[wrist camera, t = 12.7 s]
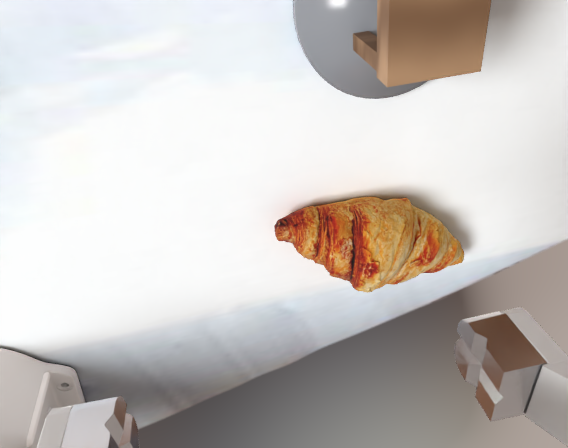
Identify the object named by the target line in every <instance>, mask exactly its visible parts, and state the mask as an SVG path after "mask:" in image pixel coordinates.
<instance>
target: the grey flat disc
mask: <svg viewBox="0 0 568 448" xmlns="http://www.w3.org/2000/svg"><path fill="white" fill-rule="evenodd" d="M293 15H294V22H295V29H296V32H297V36H298V39H299V42H300V45H301V47H302V49H303V52H304V54H305V55H306V57H307V59H308V60H309V62H310V63H311V65H312V66H313V67H314V69H315V70H316V71H317V72H318V74H319V75H320V76H321V77H322V78H323V79H324V80H326V81H327V82H328V83H329V84H331V85H332V86H333V87H335V88H336V89H338V90H340V91H342V92H344V93H347V94H350V95H353V96H356V97H362V98H372V99H379V98H388V97H393V96H397V95H400V94H403V93H406V92H408V91H411V90H413V89H415V88H417V87H419V86H421V85H422V84H424V83H425V82H427V81H428V80H427V81H421V82H415V83H410V84H404V85H398V86H392V87H386V86H385V85H384V84H383V83H382V82H381V81H380V80H379V79H378V78H377V71H376V70H375V69H374V68H373V67H371V66H370V65H369V64H368V63H367V62H366V61H365V60H364V59H362V58H361V57H360V56H359V55H358V54H357V53H356V52H355V51H353V33H359V32H365V31H369V32H371V33H372V34H374V35H375V36H377V0H293Z"/></svg>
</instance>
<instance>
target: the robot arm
mask: <svg viewBox="0 0 568 448" xmlns="http://www.w3.org/2000/svg"><path fill="white" fill-rule="evenodd" d="M457 331H458V333H459V334H460V336H461V337H460V339H459V340H458V341H457V342H456V343H455V349H454V354H455V360H456V364H457V366H458V369H459V371H460V373H461V375H462V376H463V378H464V380H465V381H466V382H468V383H470V384H472V385H473V386H475V387H476V395H475V397H476V399H477V400H478V402H479V404H480V405H481V407H482V409H483V410H484V412H485V413H486V415H487V416H488V418H489V420H490V421H495V420H500V419H505V418H510V417H514V416H519V415H524V414H526V415H525V417H527V418H528V419H530V420H531V421H532V422H534V423H535V424H537V425H538V426H539V427H541V428H542V429H544V430H545V431H546V432H548V433H549V434H551V435H552V436H554V437H555V438H556V439H558V440H559V441H560V442H562V443H563V444H565V445H566V446H568V355H567V354H565V352H564V351H563V350H562V349H561V348H560V347H559V346H558V345H557V344H556V342H555V341H554V340H553V339H552V338H551V337H550V336H549V335H548V334H547V332H546V331H545V330H544V329H543V328H542V327H541V326H540V325H539V324H538V323H537V321H536V320H535V319H534V318H533V317H532V316H531V315H530V314H529V313H528V312H527V311H526V310H525V309H523V308H522V307H518V308H513V309H509V310H504V311H500V312H493V313H489V314H485V315H481V316H476V317H472V318H468V319H464V320H461V321H460V322H459V324H458V330H457ZM126 406H127V404H126V402H125V400H124V399H123V397H122V396H118V397H113V398H108V399H103V400H97V401H92V402H87V403H85V399H84V396H83V393H82V389H81V386H80V383H79V379H78V376H77V373H76V371H75V370H74V369H73V368H71V367H68V366H64V365H58V364H51V363H45V362H42V361H39V360H37V359H34V358H32V357H30V356H27V355H24V354H22V353H19V352H15V351H11V350H7V349H1V348H0V448H139V435H138V428H137V424H136V421H135V419H134V417H133V416H132V415H130V414H128V413H126Z"/></svg>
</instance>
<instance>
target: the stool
mask: <svg viewBox="0 0 568 448" xmlns="http://www.w3.org/2000/svg"><path fill="white" fill-rule="evenodd" d="M490 6H491V0H377V36H375V35H374V34H372V33H371V32H369V31H365V32H359V33H353V51H355V52H356V53H357V54H358V55H359V56H360V57H361V58H362V59H364V60H365V61H366V62H367V63H368V64H369V65H370V66H371V67H373V68H374V69H375V70H376V71H377V78H378V79H379V80H380V81H381V82H382V83H383V84H384V85H385V86H386V87H392V86H398V85H404V84H410V83H415V82H421V81H427V80H433V79H439V78H445V77H450V76H456V75H462V74H468V73H474V72H480V71H481V66H482V59H483V53H484V46H485V39H486V32H487V26H488V19H489V12H490Z"/></svg>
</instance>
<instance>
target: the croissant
mask: <svg viewBox="0 0 568 448" xmlns="http://www.w3.org/2000/svg"><path fill="white" fill-rule="evenodd" d="M275 235H276V237H277V239H278V241H286V242H290V243H293V245H294V247H295V248H296V250H297V252H298V253H300V254H301V255H302V256H303V257H304V258H305V257H306V258H307V259H311V260H314V262H315V263H318V264H321V265H324V267H325V268H326V270H327V271H328V272H330V275H331V276H333V277H337V278H341V279H343V280H347V281H350V283H351V284H352V286H353V288H354V289H356V290H358V291H364V292H372V291H373V290H374V289H378V288H380V287H382V286H384V285H385V284H398V283H401V282H404V281H407V280H409V279H411V278H414V277H416V276H418V275H419V274H420V273H434V272H437V271H440V270H442V269H444V268H445V267H447V266H451V265H455V264H458V263H462V261H463V259H464V251H463V249H462V247H461V244H460V242H459V241H458V240H457V239H455V238H454V237H453V236H452V235H451V234H450V232H449V231H448V230H447V228H446V227H445V226H444V225H443V224H442V222H441V221H439V220H438V219H436V218H435V217H434V216H433V215H431V214H429V213H428V212H425V211H423V210H421V209H419V208H417V207H415V206H413V205H411V202H410V201H409V199H407V198H402V199H389V200H383V199H380V198H377V197H360V198H352V199H349V200H346V201H342V202H335V203H331V204H325V205H320V206H316V207H314V206H310V207H305V208H302V209H300V210H298V211H295V212H293V213H291V214H289V215H288V216H286V217H283V218H281V219H279V220H278V221H277V223H276V225H275Z"/></svg>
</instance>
